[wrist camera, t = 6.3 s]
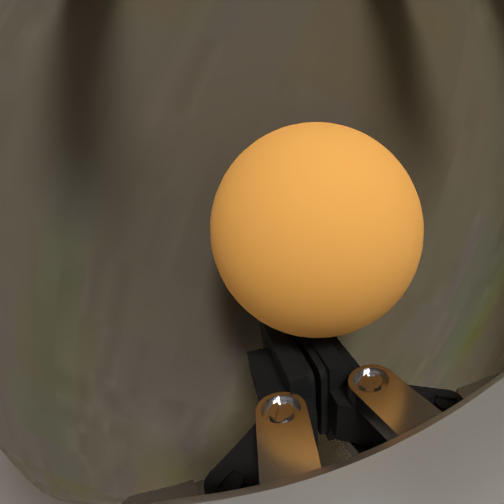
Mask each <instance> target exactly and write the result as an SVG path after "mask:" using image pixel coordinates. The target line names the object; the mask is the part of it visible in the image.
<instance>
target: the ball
mask: <svg viewBox="0 0 504 504" xmlns="http://www.w3.org/2000/svg"><path fill="white" fill-rule="evenodd" d="M210 235H211V247H212V252H213V256H214V260H215V263H216V265H217V268H218V271H219V273H220V276H221V278H222V280H223V282H224V283H225V285H226V287H227V289H228V290H229V291H230V293H231V294H232V295H233V297H234V298H235V299H236V300H237V302H238V303H239V304H240V305H241V306H242V307H243V308H244V309H245V310H246V311H247V312H248V313H250V314H251V315H252V316H254V317H255V318H256V319H258V320H259V321H261V322H262V323H264V324H266V325H268V326H270V327H271V328H274V329H276V330H279V331H281V332H284V333H287V334H291V335H295V336H299V337H308V338H328V337H335V336H341V335H345V334H348V333H351V332H354V331H357V330H359V329H361V328H363V327H365V326H367V325H369V324H371V323H373V322H375V321H376V320H377V319H379V318H380V317H382V316H383V315H384V314H386V313H387V312H388V311H389V310H390V309H391V308H392V307H393V306H394V305H395V304H396V303H397V302H398V300H399V299H400V298H401V297H402V295H403V294H404V292H405V291H406V289H407V288H408V286H409V285H410V283H411V281H412V279H413V277H414V275H415V273H416V270H417V267H418V264H419V260H420V257H421V253H422V247H423V236H424V224H423V215H422V210H421V205H420V200H419V197H418V195H417V192H416V189H415V187H414V185H413V183H412V181H411V179H410V177H409V175H408V173H407V172H406V170H405V169H404V167H403V166H402V165H401V164H400V162H399V161H398V160H397V159H396V158H395V157H394V155H393V154H392V153H391V152H390V151H389V150H388V149H386V148H385V147H384V146H383V145H381V144H380V143H379V142H377V141H376V140H374V139H373V138H371V137H369V136H368V135H366V134H364V133H362V132H360V131H357V130H355V129H352V128H349V127H346V126H343V125H339V124H333V123H325V122H308V123H300V124H294V125H289V126H286V127H283V128H280V129H278V130H275V131H273V132H271V133H269V134H267V135H265V136H263V137H261V138H260V139H258V140H256V141H255V142H254V143H253V144H251V145H250V146H249V147H248V148H247V149H245V150H244V151H243V152H242V153H241V154H240V155H239V156H238V157H237V158H236V159H235V161H234V162H233V163H232V165H231V166H230V167H229V169H228V170H227V172H226V174H225V175H224V177H223V179H222V181H221V183H220V186H219V188H218V190H217V192H216V195H215V199H214V202H213V207H212V212H211V221H210Z"/></svg>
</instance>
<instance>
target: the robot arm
mask: <svg viewBox="0 0 504 504" xmlns="http://www.w3.org/2000/svg"><path fill="white" fill-rule="evenodd" d="M259 322H260V328H261V334H262V340H263V346H264V348H263V349H259V350H255V351H250V352H247V354H248V359H249V364H250V369H251V373H252V378H253V382H254V385H255V389H256V392H257V395H258V399H259V403H258V405H257V406H256V411H255V416H256V423H255V425H254V426H253V427H252V428H251V429H250V430H249V431H248V433H247V434H246V435H245V436H244V437H243V438H242V439H241V440H240V441H239V442H238V444H237V445H236V446H235V447H234V448H233V449H232V450H231V451H230V452H229V453H228V454H227V455H226V456H225V457H224V458H223V459H222V460H221V461H220V463H219V464H218V465H217V466H216V467H215V468H214V469H213V470H212V471H211V472H210V473H209V474H208V475H207V477H206V478H205V479H204V480H201V481H198V482H194V481H193V480H191V481H187V482H184V483H180V484H177V485H173V486H169V487H166V488H162V489H158V490H153V491H149V492H145V493H140V494H135V495H133V496H130V497H128V498H127V499H126V500H124V501H123V503H122V504H504V372H502V373H497V374H494V375H491V376H489V377H486V378H484V379H482V380H479V381H477V382H474V383H471V384H469V385H466V386H463V387H460V388H458V389H457V390H456V392H454V391H451V390H445V389H436V388H428V387H420V386H413V385H407V384H406V383H405V382H404V381H402V380H401V379H400V378H399V377H397V376H396V375H395V374H394V373H392V372H391V371H390V370H388V369H387V368H385V367H383V366H379V365H364V366H361V367H360V366H359V365H358V363H357V362H356V361H355V360H354V358H353V357H352V356H351V355H350V354H349V352H348V351H347V350H346V349H345V347H344V346H343V345H342V344H341V342H340V341H339V340H338V339H337V337H336V336H335V337H328V338H308V337H299V336H295V335H291V334H287V333H284V332H281V331H279V330H276V329H274V328H271V327H270V326H268V325H266V324H264V323H262V322H261V321H259ZM317 429H318V432H319V433H320V435H322V434H326V436H327V438H328V440H329V441H330V440H333V439H338V440H342V441H344V445H345V447H346V449H347V450H348V451H349V452H350V453H351V455H352V457H349V458H347V459H344V460H341V461H339V462H336V463H333V464H330V465H328V466H325V467H322V468H321V464H320V459H319V455H318V451H317V445H318V438H317Z"/></svg>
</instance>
